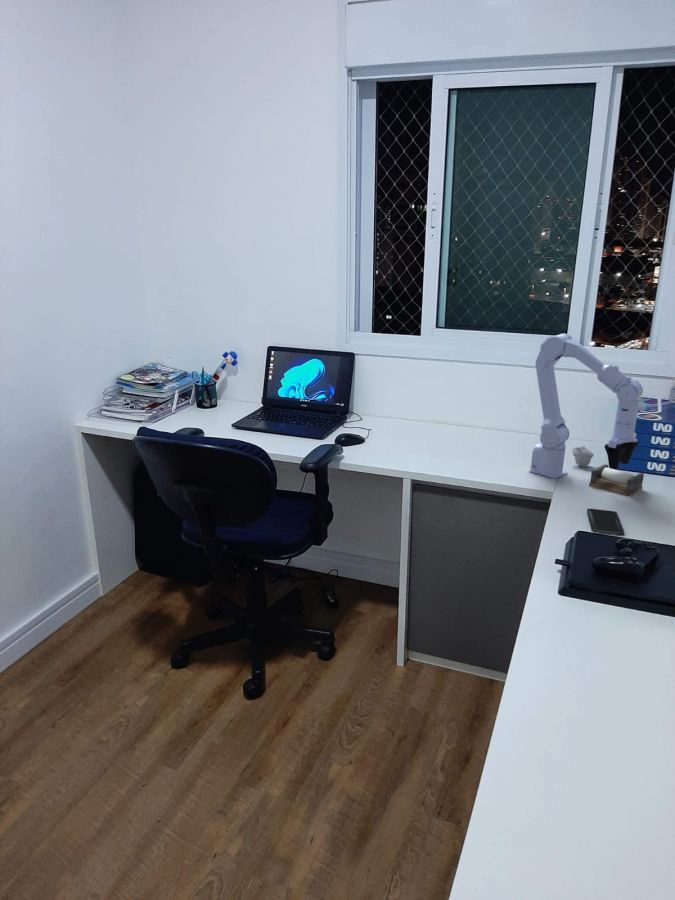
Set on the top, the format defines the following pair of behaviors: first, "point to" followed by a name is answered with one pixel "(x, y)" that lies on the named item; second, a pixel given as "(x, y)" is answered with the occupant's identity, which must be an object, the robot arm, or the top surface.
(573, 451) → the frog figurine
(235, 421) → the top surface
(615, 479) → the paper roll
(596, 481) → the roll holder
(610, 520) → the phone
